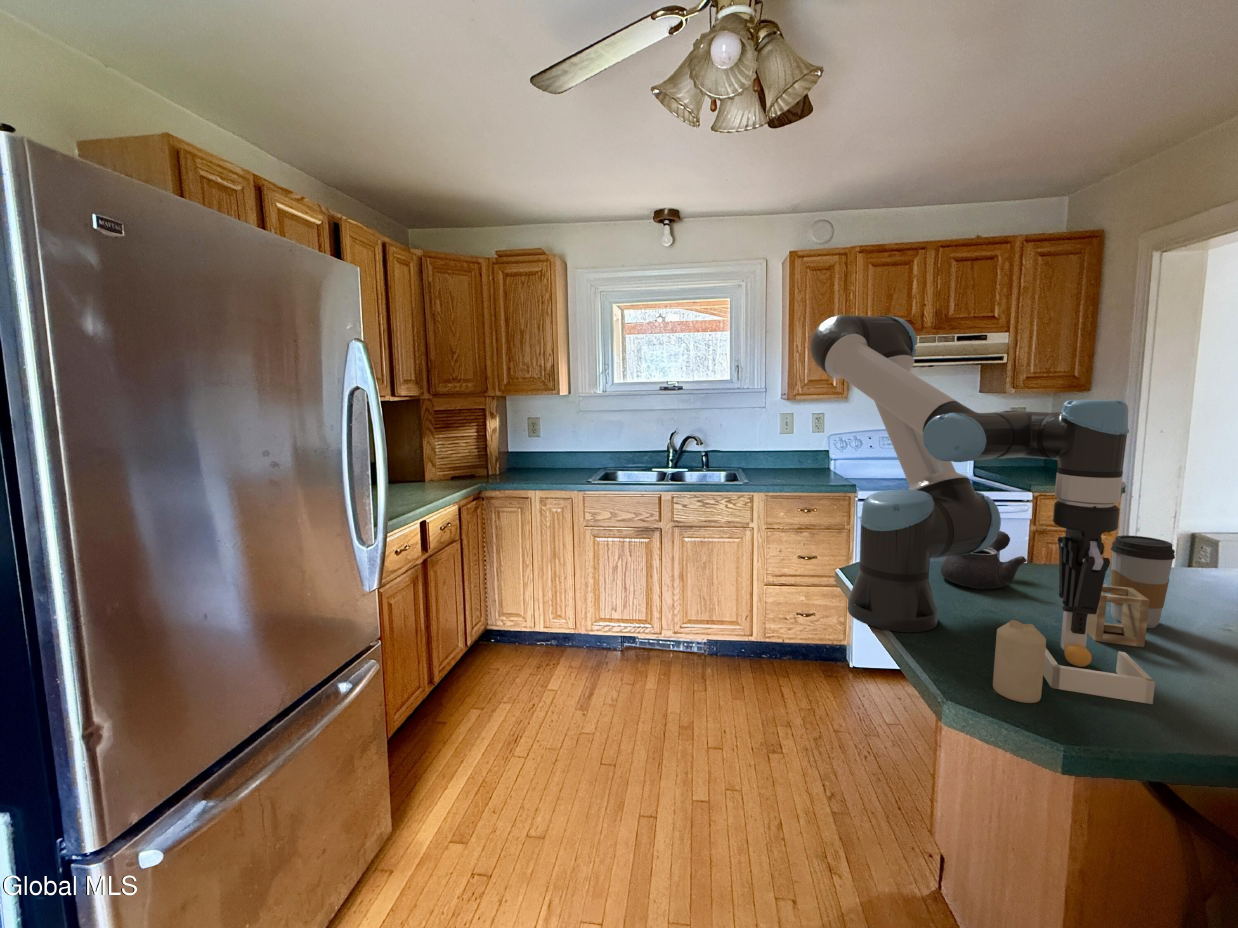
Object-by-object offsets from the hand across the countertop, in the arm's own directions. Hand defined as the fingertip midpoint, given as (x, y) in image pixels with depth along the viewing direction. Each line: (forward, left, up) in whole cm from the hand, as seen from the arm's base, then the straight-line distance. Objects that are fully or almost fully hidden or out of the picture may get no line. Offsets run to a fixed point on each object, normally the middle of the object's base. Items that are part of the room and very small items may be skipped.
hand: (1072, 649), depth 86 cm
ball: (0, -1, +1) cm, 1 cm away
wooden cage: (+9, +12, -2) cm, 15 cm away
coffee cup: (+15, +21, -2) cm, 26 cm away
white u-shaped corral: (0, -7, -2) cm, 7 cm away
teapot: (-5, +37, -2) cm, 37 cm away
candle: (-11, -15, -2) cm, 18 cm away
